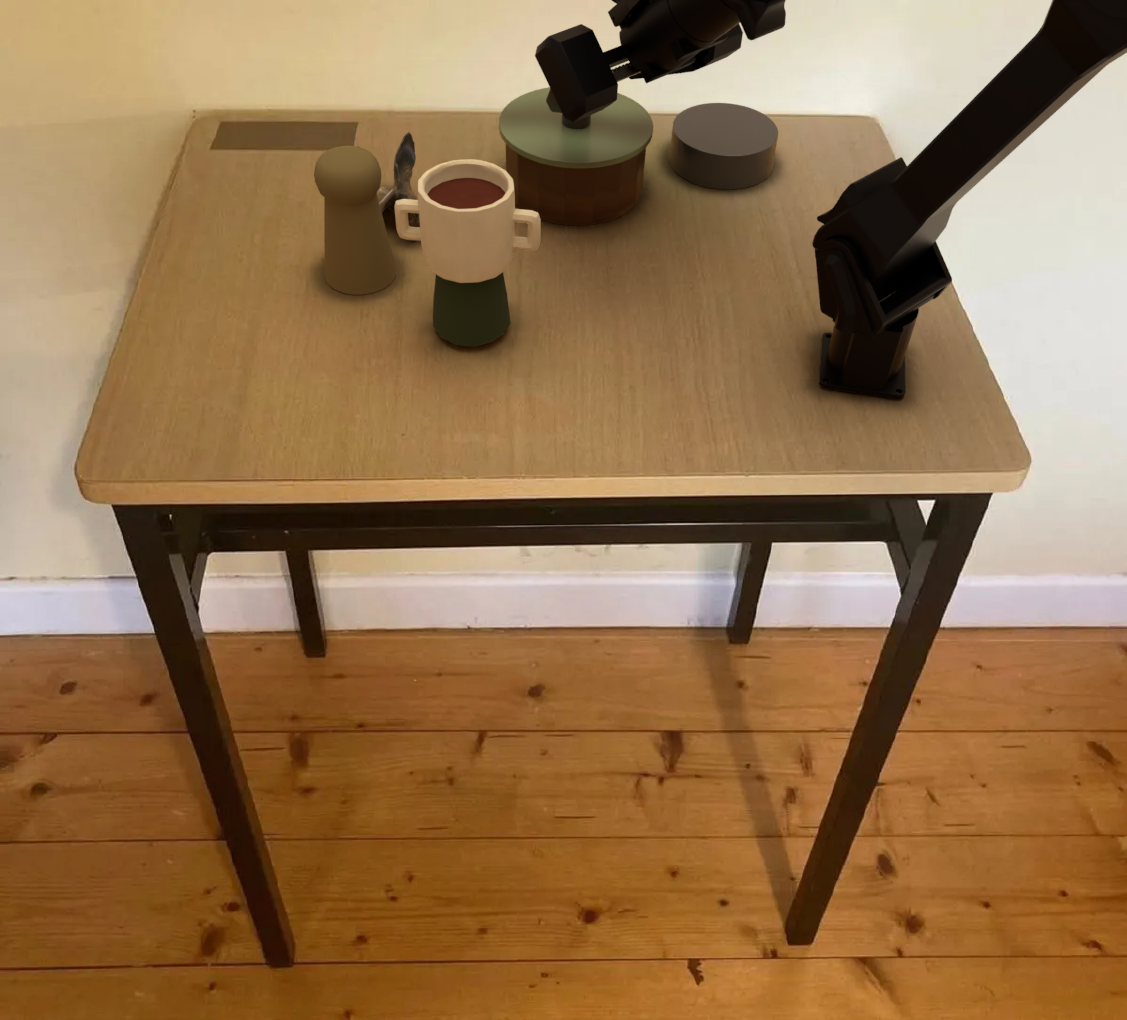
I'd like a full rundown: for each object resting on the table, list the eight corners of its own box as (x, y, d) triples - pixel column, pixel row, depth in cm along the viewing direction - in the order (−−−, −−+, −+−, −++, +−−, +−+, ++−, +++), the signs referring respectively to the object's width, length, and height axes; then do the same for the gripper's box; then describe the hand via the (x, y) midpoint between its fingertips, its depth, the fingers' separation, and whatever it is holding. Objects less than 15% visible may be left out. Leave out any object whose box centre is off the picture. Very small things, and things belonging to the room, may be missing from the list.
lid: (661, 174, 96) (667, 106, 92) (501, 176, 96) (499, 107, 91) (643, 96, 106) (648, 31, 101) (497, 97, 105) (495, 32, 100)
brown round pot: (648, 224, 101) (653, 164, 96) (508, 226, 100) (507, 166, 96) (633, 152, 109) (637, 93, 105) (504, 153, 108) (503, 94, 104)
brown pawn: (402, 255, 96) (391, 138, 88) (388, 297, 92) (375, 178, 84) (334, 250, 97) (316, 132, 89) (316, 291, 93) (296, 172, 85)
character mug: (544, 307, 92) (547, 164, 83) (533, 362, 87) (534, 218, 78) (414, 295, 93) (402, 152, 83) (395, 349, 88) (380, 204, 78)
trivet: (768, 195, 105) (774, 161, 102) (662, 182, 106) (666, 148, 103) (775, 142, 111) (781, 109, 109) (676, 130, 112) (679, 97, 110)
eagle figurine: (472, 216, 99) (431, 152, 103) (433, 172, 93) (390, 106, 96) (405, 268, 100) (367, 203, 104) (362, 229, 94) (323, 161, 98)
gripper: (737, -129, 86) (626, -28, 99) (554, -72, 77) (461, 30, 90) (797, 9, 88) (680, 90, 101) (625, 80, 79) (523, 158, 92)
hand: (590, 89), depth 96 cm, fingers open, 9 cm apart
